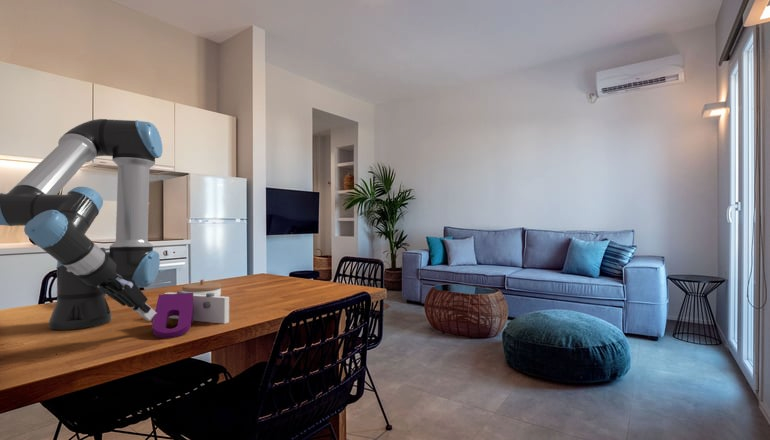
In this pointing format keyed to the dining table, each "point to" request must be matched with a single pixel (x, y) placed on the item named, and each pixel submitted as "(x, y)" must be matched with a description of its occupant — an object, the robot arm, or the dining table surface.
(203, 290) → the lidded bowl
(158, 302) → the mounting bracket
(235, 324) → the dining table surface
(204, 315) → the hinge seat
